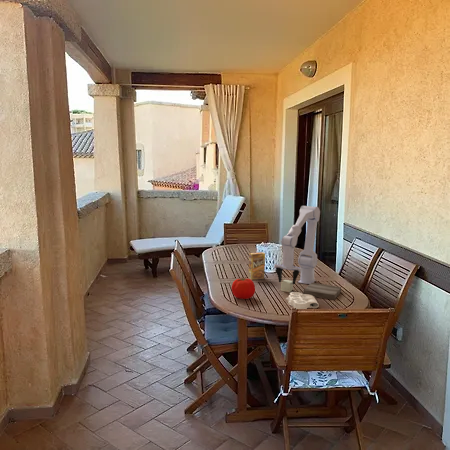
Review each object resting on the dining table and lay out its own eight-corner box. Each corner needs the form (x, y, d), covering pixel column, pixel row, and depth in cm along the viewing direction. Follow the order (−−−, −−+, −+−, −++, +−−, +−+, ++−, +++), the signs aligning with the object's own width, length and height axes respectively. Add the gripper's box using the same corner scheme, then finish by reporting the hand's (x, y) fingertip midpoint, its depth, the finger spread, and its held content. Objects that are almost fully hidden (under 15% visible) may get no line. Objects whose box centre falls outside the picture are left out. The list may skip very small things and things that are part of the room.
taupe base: (311, 286, 226) (311, 282, 226) (340, 291, 219) (341, 287, 219) (303, 294, 212) (303, 290, 212) (334, 299, 205) (334, 295, 205)
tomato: (253, 294, 210) (254, 275, 209) (256, 301, 199) (256, 281, 198) (230, 294, 210) (230, 274, 208) (231, 301, 199) (232, 281, 197)
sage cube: (283, 288, 222) (284, 279, 222) (292, 289, 220) (293, 281, 220) (280, 290, 218) (281, 281, 217) (289, 292, 216) (290, 283, 215)
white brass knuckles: (320, 311, 190) (288, 310, 190) (312, 298, 207) (283, 298, 207) (320, 304, 189) (289, 303, 189) (312, 292, 207) (283, 291, 207)
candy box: (251, 280, 237) (252, 254, 235) (248, 278, 241) (248, 252, 239) (264, 278, 241) (265, 253, 239) (261, 276, 245) (261, 251, 242)
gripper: (272, 257, 216) (271, 282, 218) (299, 261, 210) (297, 286, 212) (277, 255, 222) (276, 279, 224) (303, 258, 216) (301, 283, 218)
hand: (286, 282), depth 218 cm, fingers open, 7 cm apart
